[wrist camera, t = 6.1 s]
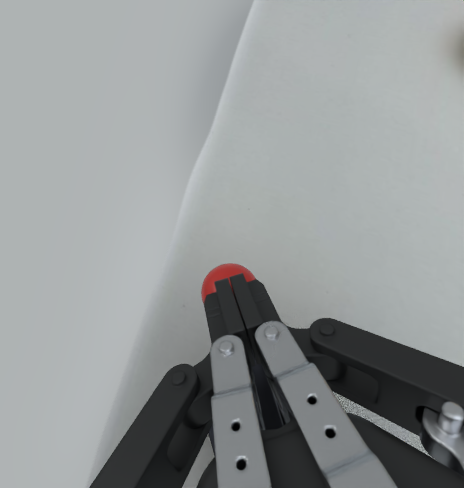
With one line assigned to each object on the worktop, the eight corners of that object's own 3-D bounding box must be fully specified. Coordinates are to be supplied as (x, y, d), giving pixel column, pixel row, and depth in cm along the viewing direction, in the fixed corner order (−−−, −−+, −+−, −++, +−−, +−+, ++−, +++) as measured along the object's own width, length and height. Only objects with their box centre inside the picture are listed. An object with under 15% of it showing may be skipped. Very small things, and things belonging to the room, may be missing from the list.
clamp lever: (198, 278, 19) (191, 267, 16) (247, 263, 19) (249, 249, 16) (274, 545, 15) (283, 597, 12) (334, 522, 16) (358, 569, 13)
